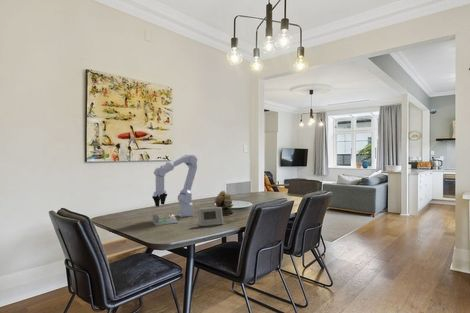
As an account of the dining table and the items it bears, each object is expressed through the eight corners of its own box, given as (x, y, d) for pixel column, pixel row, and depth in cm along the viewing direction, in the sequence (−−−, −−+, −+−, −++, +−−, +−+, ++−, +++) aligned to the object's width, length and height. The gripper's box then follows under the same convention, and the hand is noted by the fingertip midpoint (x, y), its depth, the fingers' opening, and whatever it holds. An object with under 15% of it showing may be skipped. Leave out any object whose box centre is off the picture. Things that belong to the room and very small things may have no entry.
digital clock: (198, 227, 178) (198, 209, 177) (197, 223, 186) (197, 207, 186) (224, 225, 181) (224, 209, 181) (221, 222, 190) (222, 206, 190)
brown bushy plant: (237, 213, 218) (237, 190, 218) (226, 216, 210) (226, 192, 209) (220, 209, 230) (220, 188, 230) (209, 212, 222) (210, 190, 221)
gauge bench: (173, 219, 197) (173, 212, 197) (177, 223, 187) (177, 215, 187) (152, 221, 191) (152, 213, 191) (155, 225, 181) (155, 217, 181)
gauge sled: (173, 218, 193) (173, 212, 193) (174, 220, 189) (175, 213, 189) (165, 219, 191) (165, 213, 191) (166, 220, 187) (166, 214, 187)
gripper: (159, 183, 203) (159, 203, 203) (149, 186, 189) (149, 207, 189) (168, 184, 201) (168, 203, 202) (159, 186, 187) (159, 207, 188)
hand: (160, 205), depth 195 cm, fingers open, 7 cm apart
